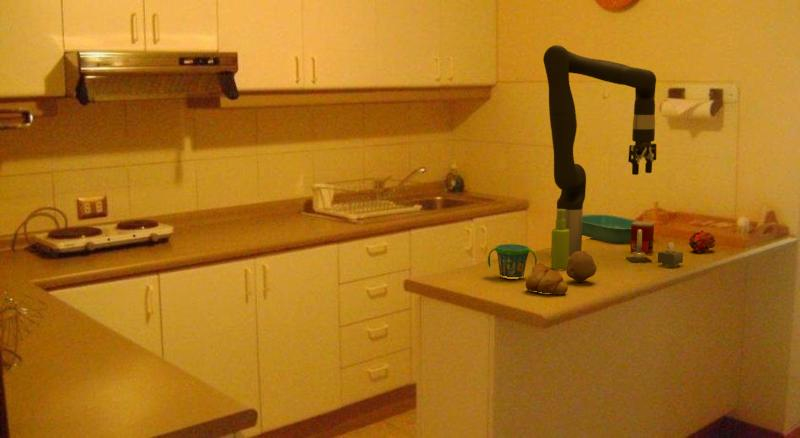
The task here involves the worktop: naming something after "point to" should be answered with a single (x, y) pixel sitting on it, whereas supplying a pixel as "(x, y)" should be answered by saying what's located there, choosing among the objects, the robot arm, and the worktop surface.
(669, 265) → the hub
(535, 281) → the bread roll
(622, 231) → the casserole dish
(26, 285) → the worktop surface
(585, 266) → the natural sponge
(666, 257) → the gray block
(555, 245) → the soap dispenser
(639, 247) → the stand
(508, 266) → the snack cup
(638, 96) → the robot arm
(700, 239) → the dragon fruit
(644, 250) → the canned food
